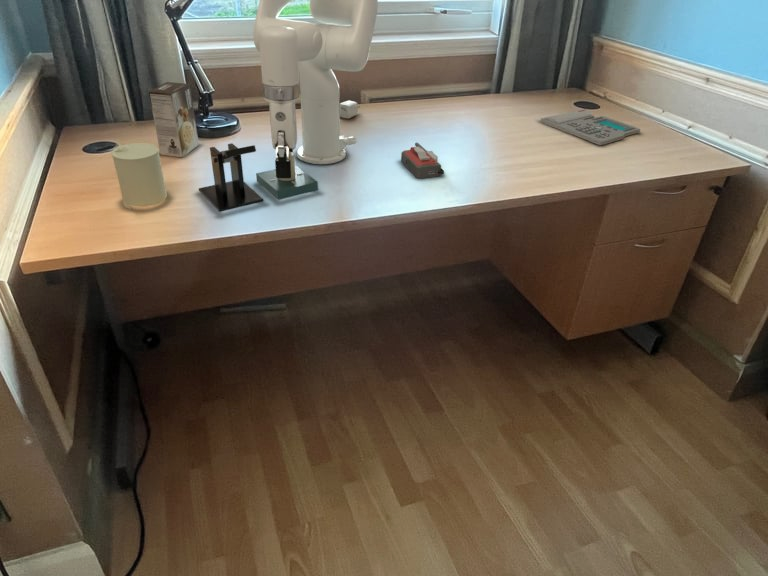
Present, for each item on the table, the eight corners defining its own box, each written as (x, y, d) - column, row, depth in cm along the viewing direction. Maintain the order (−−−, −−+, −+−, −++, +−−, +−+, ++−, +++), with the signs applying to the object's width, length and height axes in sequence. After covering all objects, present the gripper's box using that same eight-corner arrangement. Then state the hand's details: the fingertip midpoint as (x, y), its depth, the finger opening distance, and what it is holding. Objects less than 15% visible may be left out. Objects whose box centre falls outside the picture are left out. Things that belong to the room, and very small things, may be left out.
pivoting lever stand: (263, 205, 127) (259, 153, 121) (219, 216, 122) (212, 163, 116) (241, 185, 135) (236, 135, 128) (199, 194, 130) (191, 143, 124)
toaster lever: (257, 154, 116) (253, 142, 116) (228, 159, 113) (225, 147, 113) (238, 160, 126) (235, 149, 125) (212, 165, 123) (208, 154, 123)
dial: (290, 172, 135) (289, 148, 131) (298, 178, 132) (297, 154, 129) (274, 176, 133) (272, 151, 129) (282, 182, 130) (281, 157, 127)
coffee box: (177, 142, 155) (166, 80, 146) (199, 145, 154) (190, 83, 145) (159, 155, 148) (147, 90, 139) (183, 158, 147) (172, 93, 138)
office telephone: (540, 114, 179) (583, 104, 189) (539, 122, 181) (581, 112, 190) (602, 137, 164) (645, 125, 173) (600, 146, 165) (643, 134, 175)
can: (129, 192, 130) (117, 140, 123) (172, 191, 131) (162, 140, 124) (117, 211, 122) (104, 156, 116) (162, 210, 123) (152, 157, 116)
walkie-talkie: (451, 177, 143) (419, 148, 159) (453, 160, 141) (420, 132, 156) (418, 181, 141) (389, 151, 156) (419, 164, 138) (390, 135, 153)
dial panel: (295, 176, 140) (294, 164, 138) (318, 193, 133) (317, 181, 131) (257, 185, 135) (255, 172, 134) (278, 203, 128) (277, 190, 126)
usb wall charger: (338, 116, 178) (338, 103, 176) (352, 110, 183) (352, 98, 180) (349, 119, 176) (349, 105, 174) (362, 113, 181) (362, 100, 178)
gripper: (297, 103, 114) (300, 184, 124) (300, 81, 129) (303, 155, 138) (258, 103, 114) (264, 184, 123) (266, 80, 128) (271, 155, 138)
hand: (285, 169), depth 131 cm, fingers open, 9 cm apart
